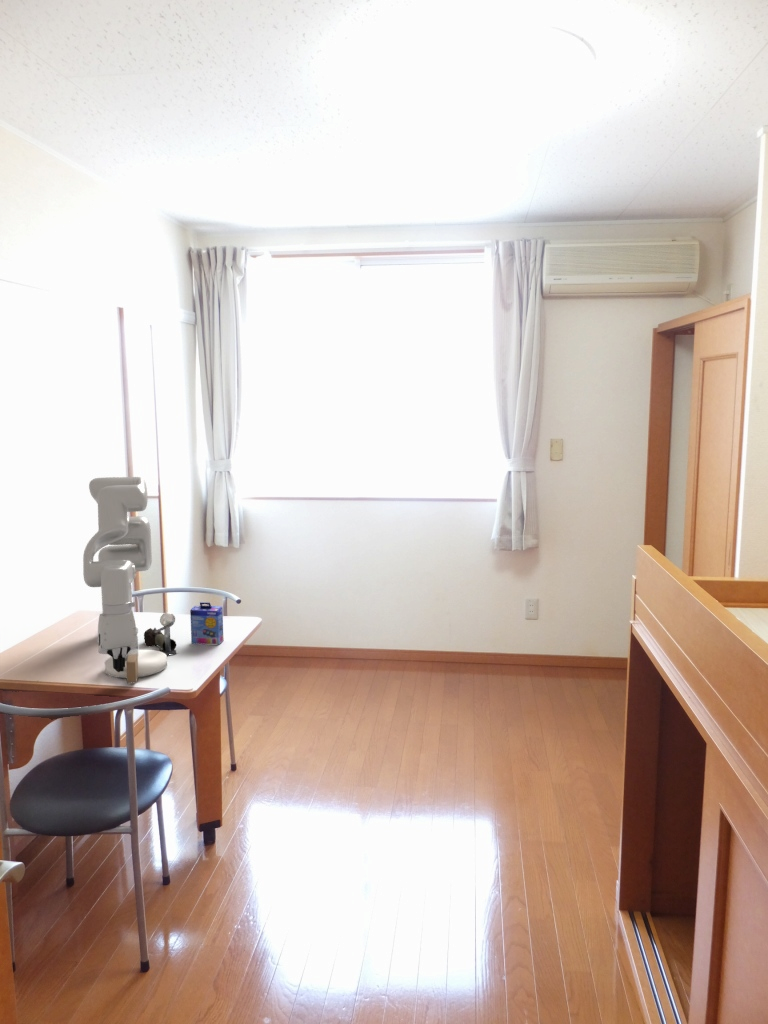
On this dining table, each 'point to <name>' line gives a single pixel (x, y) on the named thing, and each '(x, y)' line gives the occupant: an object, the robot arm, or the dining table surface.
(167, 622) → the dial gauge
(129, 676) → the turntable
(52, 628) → the dining table surface
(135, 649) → the silver metal cylinder
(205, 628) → the ink cartridge box
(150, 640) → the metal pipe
